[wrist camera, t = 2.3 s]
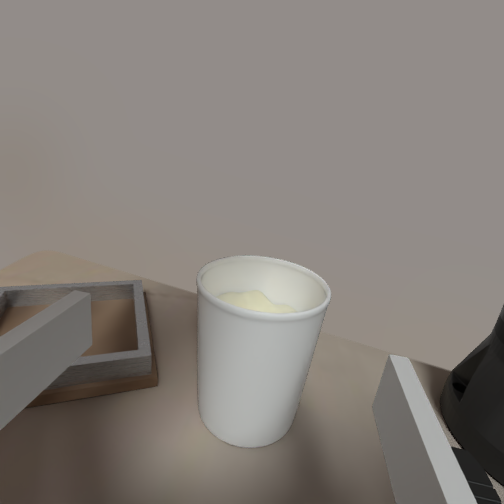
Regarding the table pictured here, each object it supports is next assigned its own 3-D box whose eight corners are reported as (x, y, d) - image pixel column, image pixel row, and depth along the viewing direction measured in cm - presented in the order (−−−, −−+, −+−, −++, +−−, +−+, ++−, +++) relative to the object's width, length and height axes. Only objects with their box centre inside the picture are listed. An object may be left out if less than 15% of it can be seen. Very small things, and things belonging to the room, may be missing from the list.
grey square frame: (141, 294, 42) (141, 280, 41) (151, 373, 29) (151, 355, 28) (-1, 303, 36) (-4, 287, 36) (-68, 407, 23) (-75, 384, 23)
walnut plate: (145, 298, 43) (145, 292, 42) (157, 386, 29) (157, 377, 29) (-4, 309, 37) (-5, 301, 37) (-78, 424, 23) (-81, 414, 23)
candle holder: (222, 355, 34) (233, 246, 30) (314, 389, 31) (340, 273, 27) (163, 424, 25) (167, 286, 21) (283, 483, 22) (315, 333, 18)
